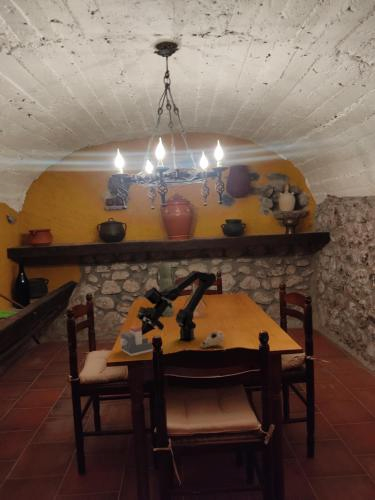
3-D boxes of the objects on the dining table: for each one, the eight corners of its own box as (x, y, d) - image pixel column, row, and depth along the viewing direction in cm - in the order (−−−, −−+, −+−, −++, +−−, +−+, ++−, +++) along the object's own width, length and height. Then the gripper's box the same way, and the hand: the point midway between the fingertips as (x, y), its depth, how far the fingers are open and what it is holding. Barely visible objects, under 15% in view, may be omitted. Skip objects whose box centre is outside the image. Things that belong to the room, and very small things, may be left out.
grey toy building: (146, 343, 209) (145, 327, 209) (156, 348, 201) (155, 331, 200) (122, 348, 202) (121, 332, 201) (131, 353, 194) (130, 337, 193)
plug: (136, 346, 204) (135, 325, 203) (142, 349, 199) (141, 328, 198) (119, 350, 199) (118, 329, 198) (124, 353, 194) (123, 331, 193)
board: (146, 345, 209) (146, 343, 209) (156, 350, 201) (156, 348, 201) (122, 350, 202) (122, 348, 202) (131, 356, 194) (131, 353, 194)
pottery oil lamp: (197, 345, 206) (196, 331, 206) (219, 342, 210) (218, 328, 210) (203, 350, 198) (203, 336, 198) (226, 347, 202) (226, 333, 202)
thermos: (157, 314, 276) (155, 261, 273) (175, 313, 277) (173, 261, 274) (158, 317, 267) (156, 263, 264) (176, 316, 268) (174, 262, 266)
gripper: (139, 297, 211) (120, 322, 205) (157, 303, 195) (137, 330, 190) (153, 310, 216) (135, 335, 210) (172, 316, 200) (153, 343, 195)
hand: (139, 335), depth 201 cm, fingers closed
